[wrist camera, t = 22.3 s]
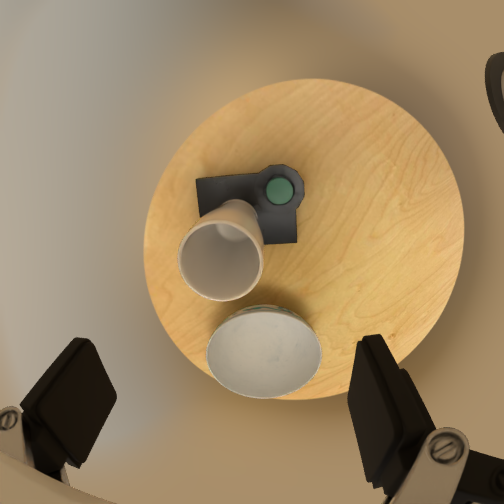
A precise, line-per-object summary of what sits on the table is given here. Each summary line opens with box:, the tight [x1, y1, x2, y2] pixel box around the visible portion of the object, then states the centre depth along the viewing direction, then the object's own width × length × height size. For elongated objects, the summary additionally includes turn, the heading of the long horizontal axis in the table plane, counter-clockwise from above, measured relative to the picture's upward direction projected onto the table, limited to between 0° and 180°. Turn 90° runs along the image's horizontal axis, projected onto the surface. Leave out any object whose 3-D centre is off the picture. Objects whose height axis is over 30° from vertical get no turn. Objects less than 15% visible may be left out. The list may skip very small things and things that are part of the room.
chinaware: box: [206, 304, 322, 398], centre depth 39 cm, size 15×15×8 cm
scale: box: [196, 164, 305, 245], centre depth 35 cm, size 10×13×3 cm
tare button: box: [266, 177, 293, 204], centre depth 32 cm, size 3×3×2 cm
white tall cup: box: [177, 199, 265, 301], centre depth 29 cm, size 7×7×15 cm
